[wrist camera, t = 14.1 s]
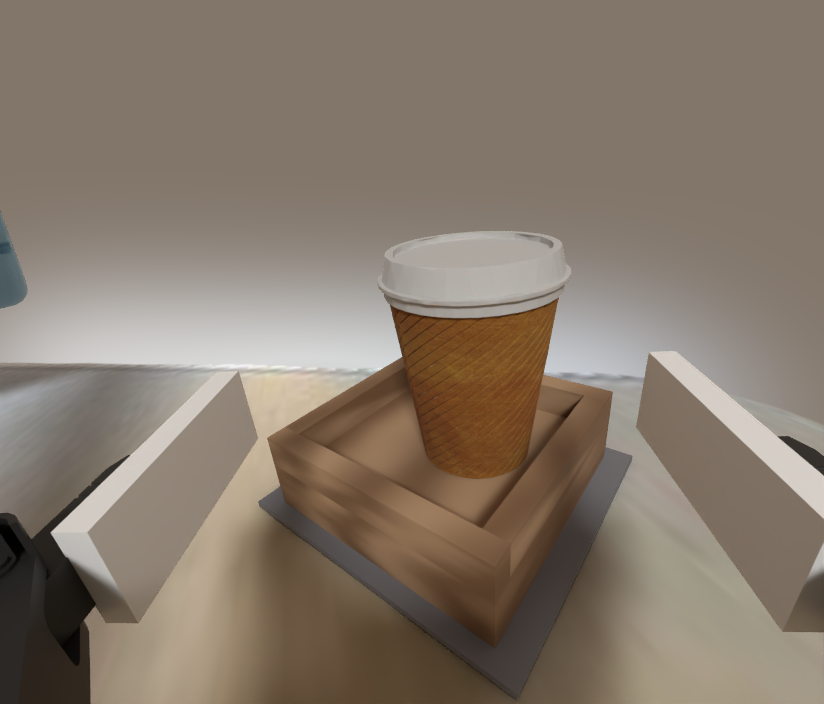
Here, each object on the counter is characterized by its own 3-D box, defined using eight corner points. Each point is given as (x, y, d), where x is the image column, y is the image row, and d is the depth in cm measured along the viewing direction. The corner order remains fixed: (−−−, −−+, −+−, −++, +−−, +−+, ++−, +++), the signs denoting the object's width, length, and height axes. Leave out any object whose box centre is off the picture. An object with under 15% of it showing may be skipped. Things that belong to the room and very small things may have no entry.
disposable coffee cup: (366, 460, 25) (333, 261, 20) (452, 390, 32) (444, 227, 27) (513, 531, 20) (519, 280, 15) (580, 428, 26) (600, 232, 21)
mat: (259, 506, 27) (258, 501, 27) (419, 391, 39) (419, 387, 39) (517, 700, 16) (517, 694, 16) (631, 460, 28) (632, 456, 28)
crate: (285, 502, 27) (267, 437, 25) (426, 396, 37) (421, 345, 35) (495, 648, 18) (494, 567, 16) (604, 456, 28) (612, 391, 26)
